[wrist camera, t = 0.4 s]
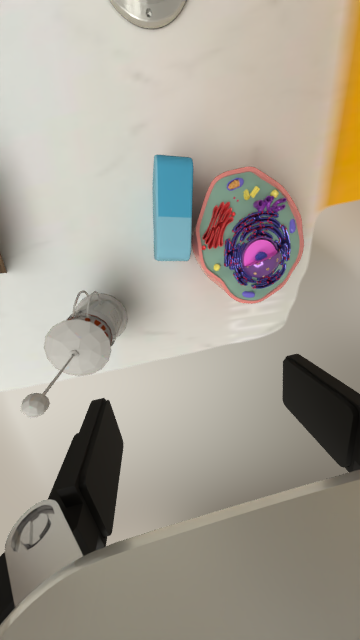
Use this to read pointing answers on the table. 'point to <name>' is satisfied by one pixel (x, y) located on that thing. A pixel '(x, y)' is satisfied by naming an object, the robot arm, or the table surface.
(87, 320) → the french press
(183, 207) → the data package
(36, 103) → the table surface
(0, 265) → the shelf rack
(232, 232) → the cell model
